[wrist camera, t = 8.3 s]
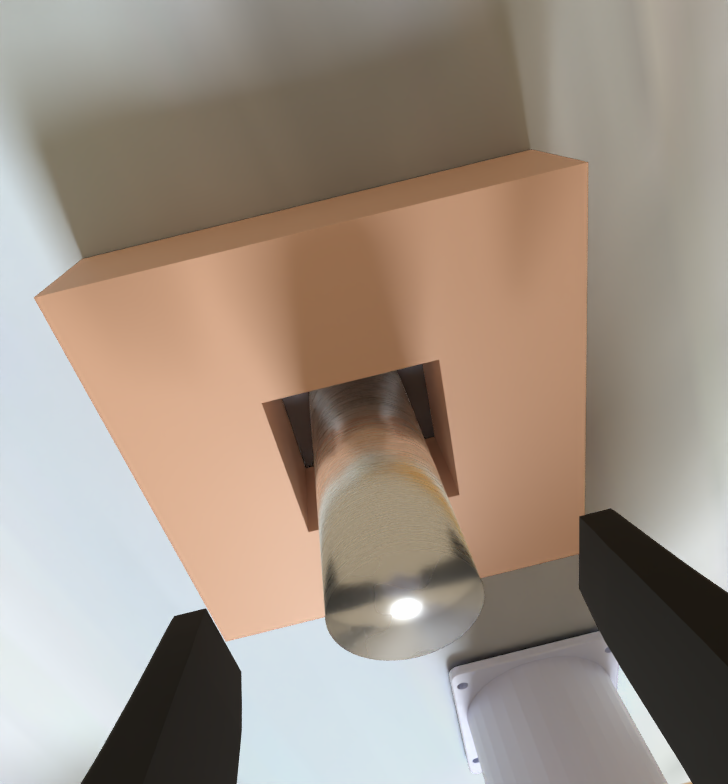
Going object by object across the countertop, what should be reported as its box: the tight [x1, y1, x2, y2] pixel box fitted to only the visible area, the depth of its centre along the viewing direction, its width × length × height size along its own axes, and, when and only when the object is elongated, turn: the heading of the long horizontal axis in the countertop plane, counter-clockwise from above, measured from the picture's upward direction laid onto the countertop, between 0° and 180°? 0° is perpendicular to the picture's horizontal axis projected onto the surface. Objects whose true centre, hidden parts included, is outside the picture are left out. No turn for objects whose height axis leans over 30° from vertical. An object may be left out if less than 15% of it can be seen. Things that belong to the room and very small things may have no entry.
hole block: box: [34, 149, 588, 641], centre depth 15 cm, size 12×12×3 cm
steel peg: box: [309, 370, 484, 661], centre depth 13 cm, size 3×3×8 cm
